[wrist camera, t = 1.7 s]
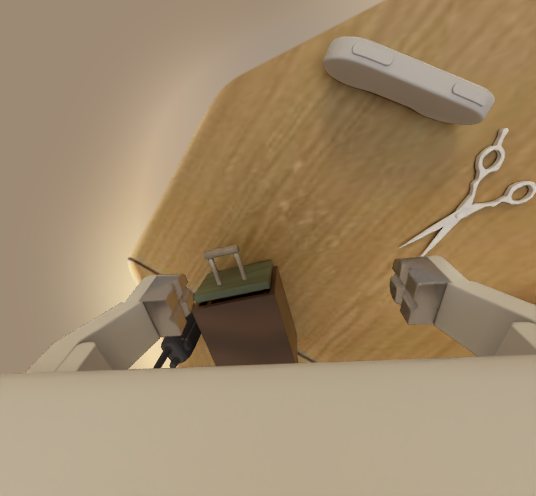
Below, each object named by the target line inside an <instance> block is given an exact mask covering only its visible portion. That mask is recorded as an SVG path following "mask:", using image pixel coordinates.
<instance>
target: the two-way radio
mask: <svg viewBox="0 0 536 496" xmlns="http://www.w3.org/2000/svg"><path fill="white" fill-rule="evenodd" d="M193 308H194V306H193ZM193 308H192V309H193ZM185 318H186V321H187V323H186V325H185V328H184V330H183V333H182V335H181V336H169V337H165V338H164V340H163V342H162V344H161V348H162V350H163V352H162V354H161V356H160V358H159V359H158V361H157V362H156V364H155V366H154V368H161V367H162V365H163V364H164V362H165V360H166V359H167V357H168V358H169V359H170V360H171V363H170V368H176V366H177V365H178V364H179V363H182V362H184V361H186V360H187V359H188V358H189V357H190V355H191V354H192V352H193V350H194V348H195V346H196V344H197V342H198V339H199V337H200V335H201V331H200V329H199V326H198V324H197V322H196V320H195V317H194V315H193V313H192V311H191V313H190V314H189V315H188V316H187V317H185ZM154 368H153V369H154Z"/></svg>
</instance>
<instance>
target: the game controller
mask: <svg viewBox="0 0 536 496" xmlns="http://www.w3.org/2000/svg"><path fill="white" fill-rule="evenodd" d="M323 67H324V69H325V71H326V72H327V73H328V74H329V75H330V76H332V77H333V78H335V79H336V80H338V81H340V82H342V83H344V84H346V85H349V86H351V87H354V88H358V89H362V90H366V91H370V92H372V93H375V94H377V95H380V96H382V97H385V98H387V99H390V100H392V101H395V102H397V103H400V104H402V105H405V106H407V107H410V108H412V109H413V110H415V111H416V112H418V113H419V114H421V115H423V116H426V117H428V118H431V119H434V120H437V121H441V122H445V123H451V124H459V125H472V124H477V123H480V122H481V121H483V120H484V118H485V117H486V115H487V114H488V112H489V110H490V109H491V107H492V105H493V104H494V101H495V98H494V96H493V94H492V93H491V92H490V91H488V90H487V89H485V88H483V87H481V86H479V85H477V84H475V83H472V82H470V81H468V80H465V79H463V78H460V77H458V76H456V75H453V74H451V73H449V72H446V71H444V70H441V69H439V68H437V67H434V66H432V65H429V64H427V63H424V62H422V61H420V60H417V59H415V58H412V57H410V56H408V55H405V54H403V53H400V52H398V51H395V50H393V49H391V48H388V47H386V46H383V45H381V44H378V43H376V42H373V41H370V40H368V39H364V38H360V37H352V36H345V37H339V38H336V39H334V40H333V41H332V42H331V43H330V45H329V47H328V50H327V53H326V55H325V58H324V61H323Z"/></svg>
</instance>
